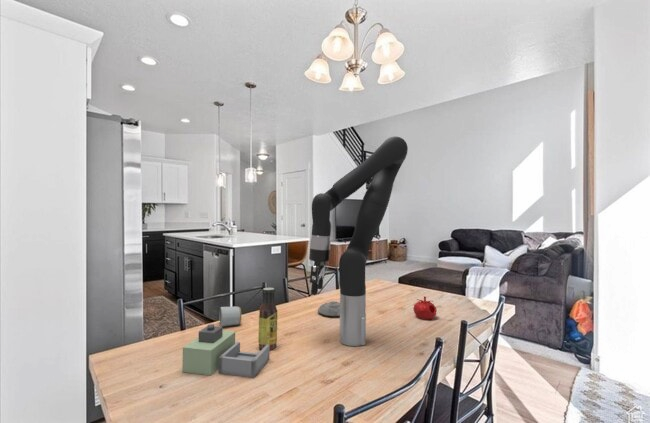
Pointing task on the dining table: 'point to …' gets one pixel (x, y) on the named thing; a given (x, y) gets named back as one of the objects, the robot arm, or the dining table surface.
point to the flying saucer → (330, 309)
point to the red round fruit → (425, 309)
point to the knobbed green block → (221, 355)
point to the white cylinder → (229, 316)
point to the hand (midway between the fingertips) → (316, 291)
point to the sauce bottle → (268, 320)
